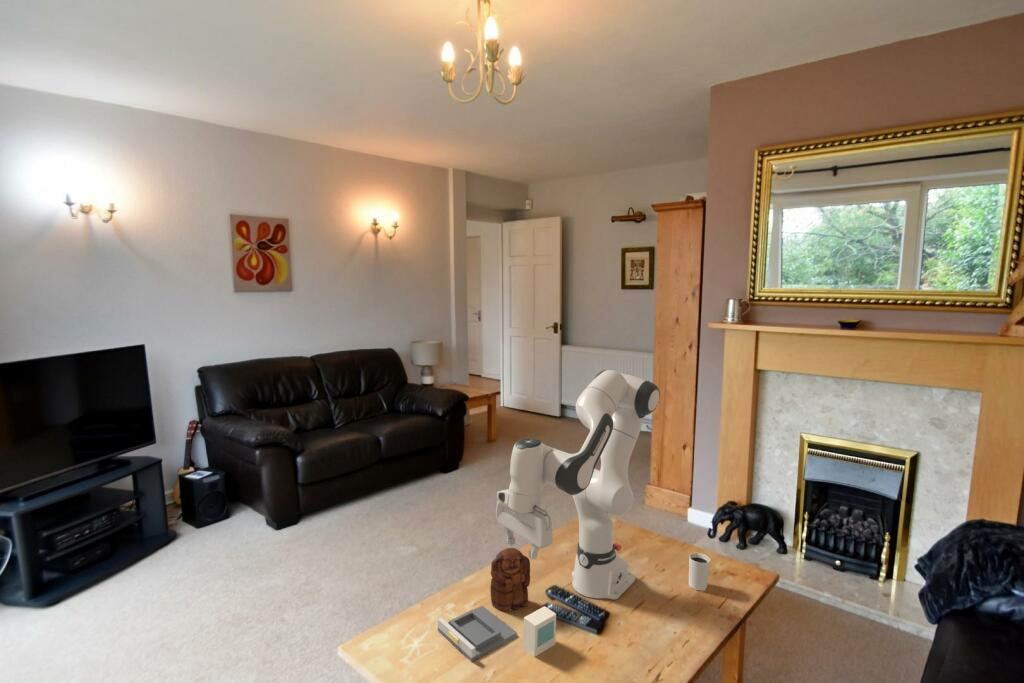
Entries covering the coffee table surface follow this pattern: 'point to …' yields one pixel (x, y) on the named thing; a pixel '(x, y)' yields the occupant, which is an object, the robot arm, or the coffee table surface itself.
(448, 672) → the coffee table surface
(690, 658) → the coffee table surface
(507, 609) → the wooden figurine
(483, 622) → the display base
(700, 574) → the white cup
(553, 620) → the product carton
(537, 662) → the coffee table surface
